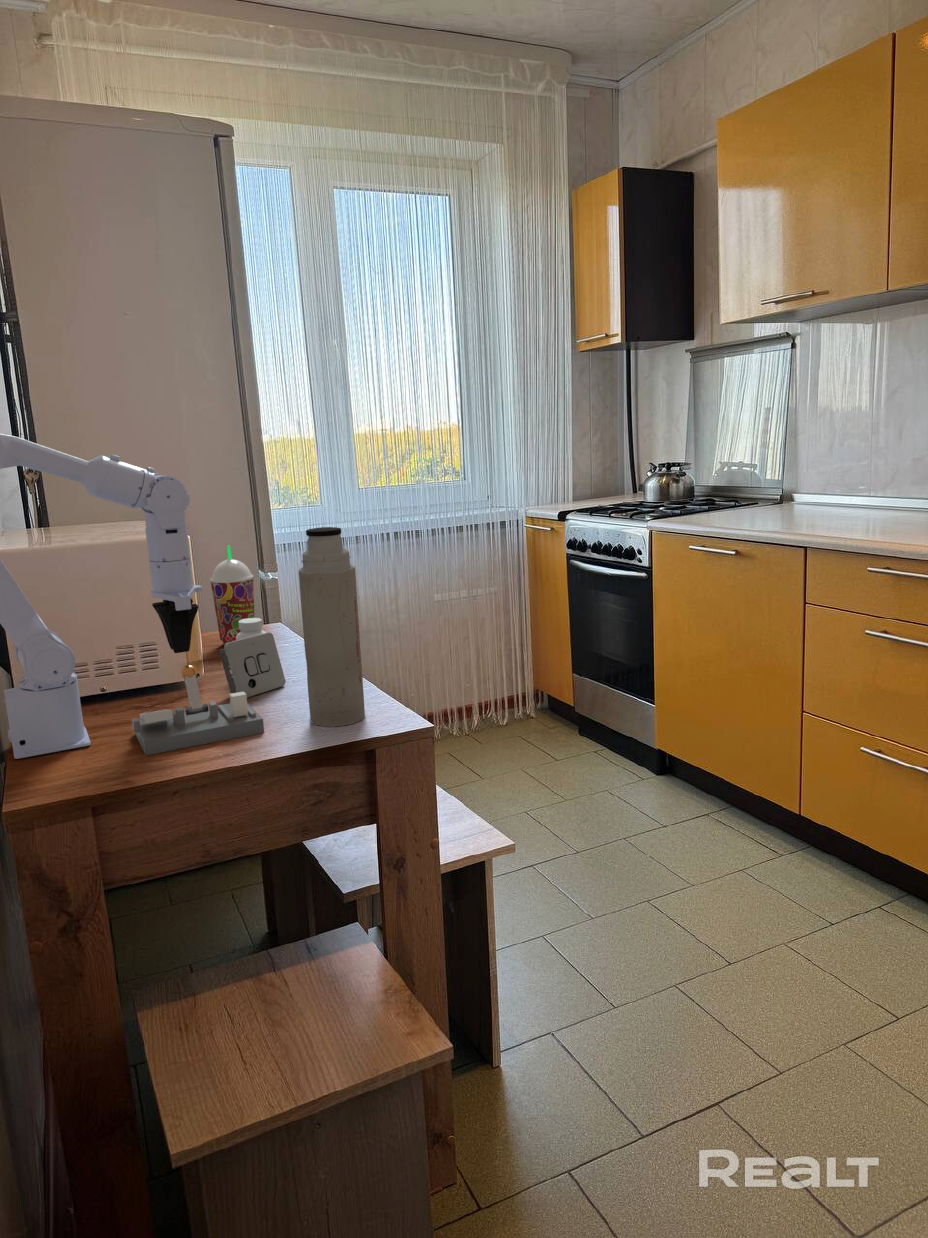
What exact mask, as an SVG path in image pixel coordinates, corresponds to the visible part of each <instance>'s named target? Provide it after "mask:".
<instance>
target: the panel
mask: <svg viewBox="0 0 928 1238" xmlns="http://www.w3.org/2000/svg"><path fill="white" fill-rule="evenodd" d="M247 707H248V715H243V716H237V717H234V716H233V715H232V714H231V705H230V702H229V703H224V704H217V703H216V702H215V701H208V712H204V713H199V714H193V715H188V716H186V713H185V709H183V707H182V706H180V707H175V710H172V714H173V718H172V719H167V720H161V721H156V722H150V723H141V720H140V718H139V717H133V718H131V724H132V730H133V733H134V735H135V737H136V738H137V741H138V743H139V745H140V746H141V748H142V750H143V752H144V755H145V756H150V755H156V754H161V753H165V752H171V751H175V750H181V749H185V748H190V747H192V748H193V747H195V746H197V747H198V746H200V745H206V744H211V743H216V742H221V741H227V740H231V739H236V738H241V737H247V736H251V735H257V734H262V733H265V726H264V718H263V716H261V715H260V714H259V713H258V712H257V711H256V710H255V709H254V708H253V707H252V706H251V705H250V704H249V703H248V702H247Z"/></svg>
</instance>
